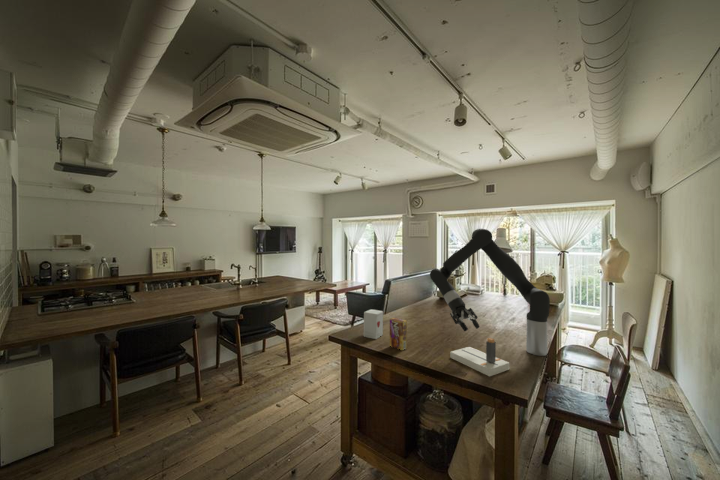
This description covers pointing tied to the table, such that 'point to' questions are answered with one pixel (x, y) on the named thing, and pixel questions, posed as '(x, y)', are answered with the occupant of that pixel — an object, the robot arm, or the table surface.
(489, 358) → the fader tab
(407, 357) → the table surface
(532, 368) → the table surface
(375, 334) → the supplement box
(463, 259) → the robot arm
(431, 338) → the table surface
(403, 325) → the candy box
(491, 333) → the table surface
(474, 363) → the console panel
